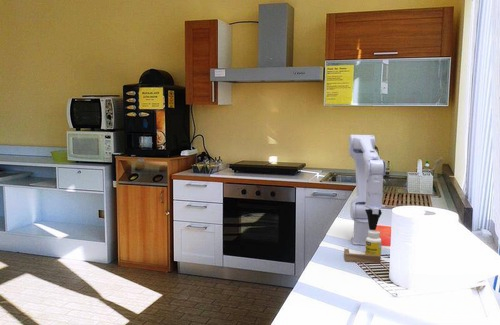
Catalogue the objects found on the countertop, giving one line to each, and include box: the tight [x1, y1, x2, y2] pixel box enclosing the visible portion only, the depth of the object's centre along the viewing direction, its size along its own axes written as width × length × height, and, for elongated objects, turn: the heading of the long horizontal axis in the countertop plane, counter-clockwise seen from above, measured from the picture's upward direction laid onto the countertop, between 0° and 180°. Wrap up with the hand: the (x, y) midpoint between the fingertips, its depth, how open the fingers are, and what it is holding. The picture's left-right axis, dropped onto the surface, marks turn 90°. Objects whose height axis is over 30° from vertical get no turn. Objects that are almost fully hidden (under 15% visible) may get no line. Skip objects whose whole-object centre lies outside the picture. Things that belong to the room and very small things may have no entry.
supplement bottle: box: [364, 230, 382, 256], centre depth 172 cm, size 5×5×10 cm
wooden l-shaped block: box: [343, 248, 382, 264], centre depth 172 cm, size 8×12×2 cm, turn 82°
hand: (372, 229), depth 177 cm, fingers closed
